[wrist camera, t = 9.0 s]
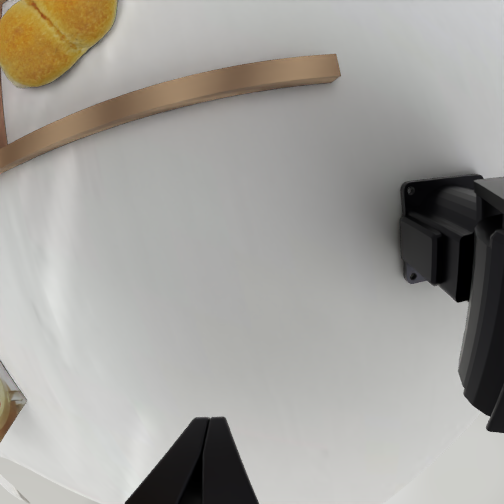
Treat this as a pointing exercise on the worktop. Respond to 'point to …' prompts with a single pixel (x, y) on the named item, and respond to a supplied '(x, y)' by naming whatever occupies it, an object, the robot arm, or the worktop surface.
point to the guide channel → (166, 101)
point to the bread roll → (50, 37)
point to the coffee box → (8, 401)
